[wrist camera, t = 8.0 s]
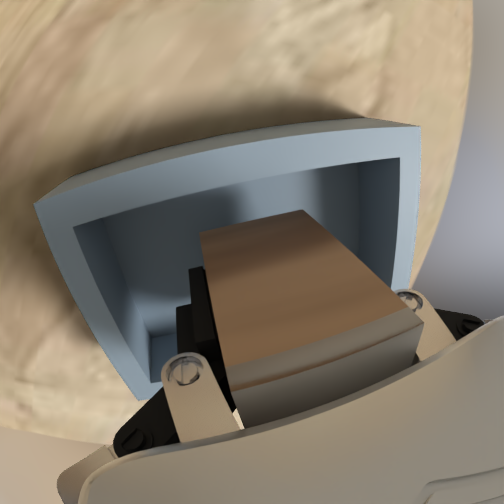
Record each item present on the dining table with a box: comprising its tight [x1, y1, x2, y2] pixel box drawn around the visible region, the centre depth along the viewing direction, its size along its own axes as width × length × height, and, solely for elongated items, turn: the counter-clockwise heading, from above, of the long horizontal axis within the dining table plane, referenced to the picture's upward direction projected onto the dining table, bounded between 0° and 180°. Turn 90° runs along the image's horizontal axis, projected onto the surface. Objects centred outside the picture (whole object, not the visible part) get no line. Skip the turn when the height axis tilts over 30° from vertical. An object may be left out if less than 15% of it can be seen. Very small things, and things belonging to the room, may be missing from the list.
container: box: [33, 118, 421, 401], centre depth 13 cm, size 10×14×4 cm
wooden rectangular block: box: [199, 209, 425, 429], centre depth 9 cm, size 5×4×7 cm
